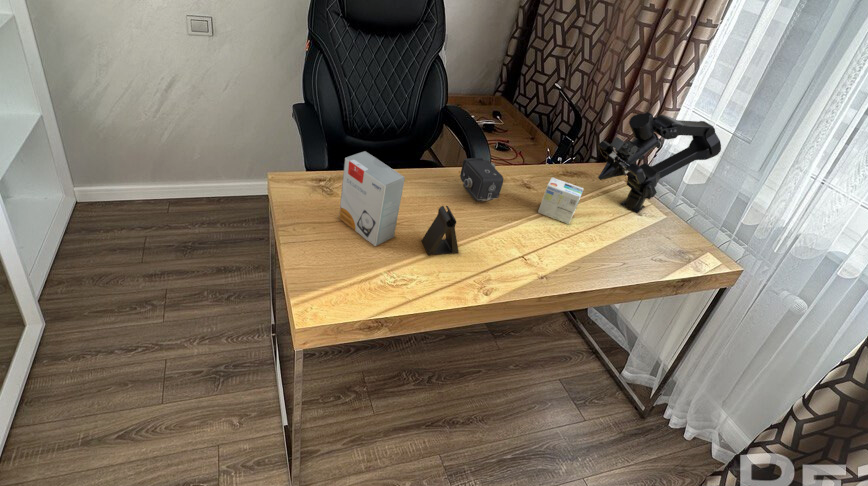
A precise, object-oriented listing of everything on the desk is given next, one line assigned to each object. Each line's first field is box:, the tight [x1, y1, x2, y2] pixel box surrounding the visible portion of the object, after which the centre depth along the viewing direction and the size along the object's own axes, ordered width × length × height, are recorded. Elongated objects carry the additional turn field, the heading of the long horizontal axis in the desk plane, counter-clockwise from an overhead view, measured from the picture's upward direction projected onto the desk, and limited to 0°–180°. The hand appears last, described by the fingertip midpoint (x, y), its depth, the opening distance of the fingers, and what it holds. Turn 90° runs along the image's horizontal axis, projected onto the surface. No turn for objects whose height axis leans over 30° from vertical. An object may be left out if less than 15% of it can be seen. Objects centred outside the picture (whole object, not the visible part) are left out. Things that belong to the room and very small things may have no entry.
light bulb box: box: [537, 176, 584, 225], centre depth 162 cm, size 11×7×11 cm, turn 65°
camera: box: [459, 157, 505, 202], centre depth 163 cm, size 11×11×15 cm
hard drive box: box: [338, 150, 406, 247], centre depth 136 cm, size 16×8×20 cm, turn 47°
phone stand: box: [421, 205, 459, 256], centre depth 137 cm, size 9×6×12 cm, turn 106°
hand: (599, 178), depth 162 cm, fingers closed
